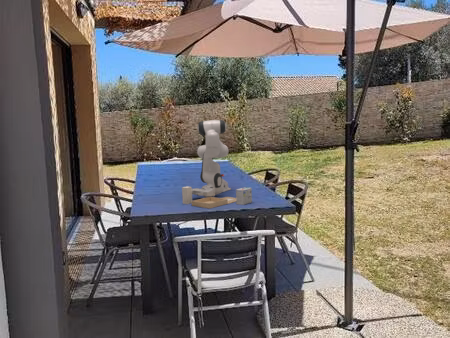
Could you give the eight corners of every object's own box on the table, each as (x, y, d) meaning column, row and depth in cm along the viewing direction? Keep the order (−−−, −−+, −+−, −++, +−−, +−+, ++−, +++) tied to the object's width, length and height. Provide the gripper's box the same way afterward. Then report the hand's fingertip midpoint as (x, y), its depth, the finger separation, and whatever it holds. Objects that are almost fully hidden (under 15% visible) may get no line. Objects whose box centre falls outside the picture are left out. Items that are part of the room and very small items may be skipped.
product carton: (187, 202, 334) (187, 186, 333) (192, 203, 331) (191, 187, 329) (182, 203, 331) (181, 187, 329) (187, 204, 327) (186, 188, 326)
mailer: (227, 197, 348) (226, 192, 348) (244, 199, 336) (244, 195, 336) (191, 205, 321) (191, 200, 321) (209, 208, 309) (209, 203, 309)
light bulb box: (245, 201, 330) (244, 187, 328) (252, 202, 326) (252, 187, 324) (236, 204, 322) (235, 189, 320) (243, 205, 317) (243, 190, 316)
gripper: (197, 185, 351) (183, 188, 341) (216, 188, 337) (202, 190, 327) (197, 193, 352) (184, 196, 342) (216, 196, 338) (203, 199, 328)
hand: (193, 193), depth 334 cm, fingers open, 8 cm apart
